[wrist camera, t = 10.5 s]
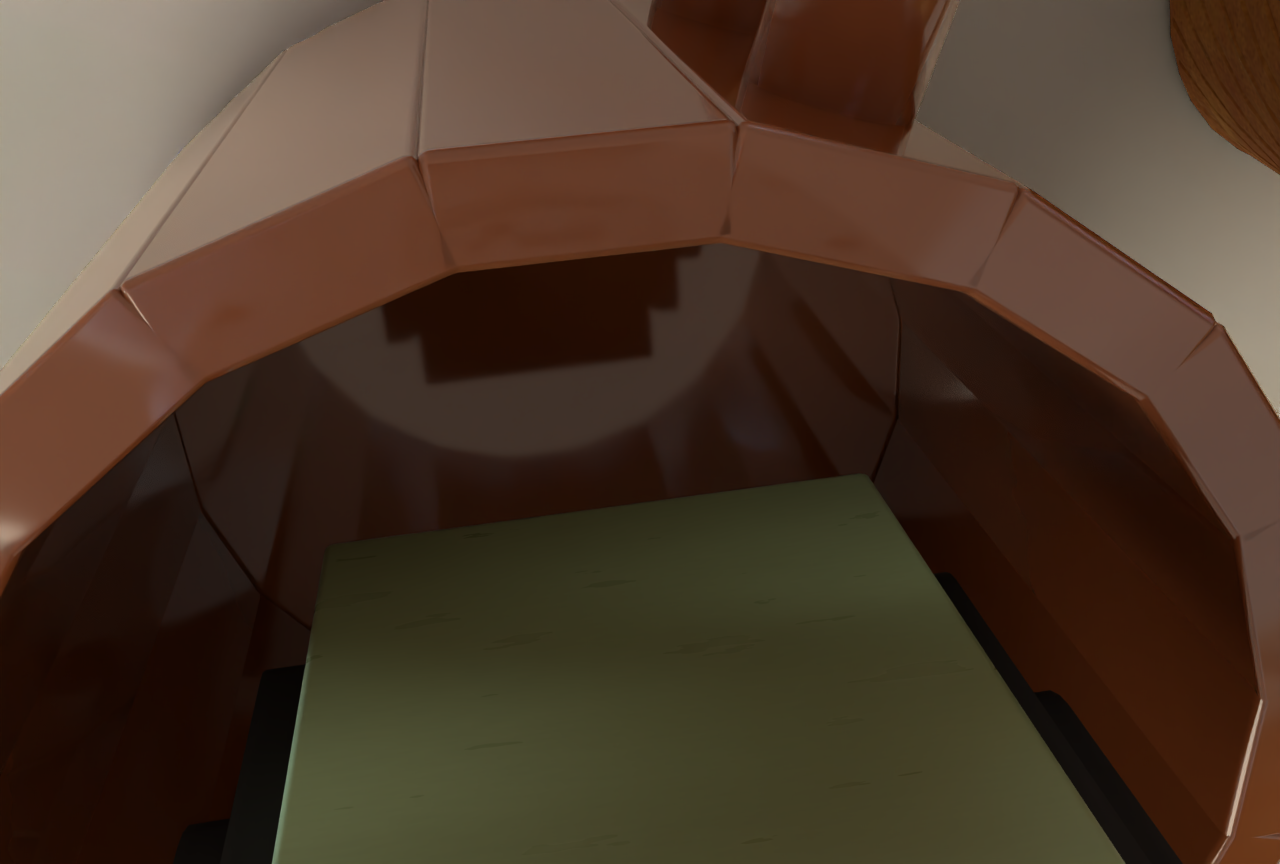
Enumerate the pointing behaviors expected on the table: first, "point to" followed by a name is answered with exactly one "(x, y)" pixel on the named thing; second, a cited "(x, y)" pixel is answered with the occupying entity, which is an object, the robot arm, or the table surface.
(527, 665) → the tea block
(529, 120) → the brown hollow round container
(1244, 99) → the disposable coffee cup
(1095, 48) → the table surface
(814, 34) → the teapot spout handle
